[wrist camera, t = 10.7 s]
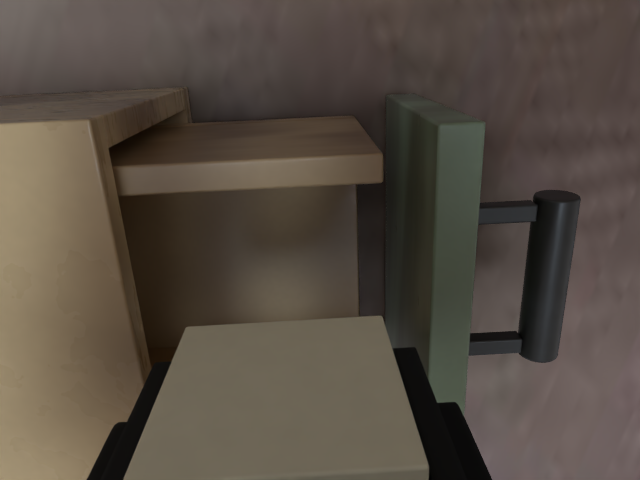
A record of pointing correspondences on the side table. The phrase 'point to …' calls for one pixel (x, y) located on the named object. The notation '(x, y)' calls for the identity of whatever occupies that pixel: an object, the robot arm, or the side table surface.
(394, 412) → the block
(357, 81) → the side table surface
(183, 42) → the side table surface
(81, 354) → the cabinet
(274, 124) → the drawer
